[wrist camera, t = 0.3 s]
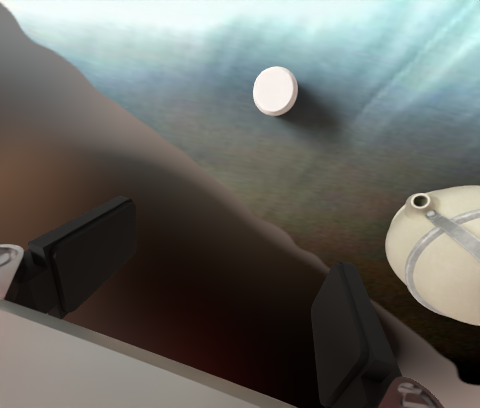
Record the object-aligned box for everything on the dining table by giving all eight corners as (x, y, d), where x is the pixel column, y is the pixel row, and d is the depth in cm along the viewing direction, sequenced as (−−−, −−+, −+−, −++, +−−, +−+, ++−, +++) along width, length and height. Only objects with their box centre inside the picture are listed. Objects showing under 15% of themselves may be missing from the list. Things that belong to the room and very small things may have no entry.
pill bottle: (303, 82, 33) (308, 73, 24) (287, 120, 35) (285, 124, 26) (268, 68, 33) (260, 53, 24) (254, 106, 35) (242, 106, 27)
